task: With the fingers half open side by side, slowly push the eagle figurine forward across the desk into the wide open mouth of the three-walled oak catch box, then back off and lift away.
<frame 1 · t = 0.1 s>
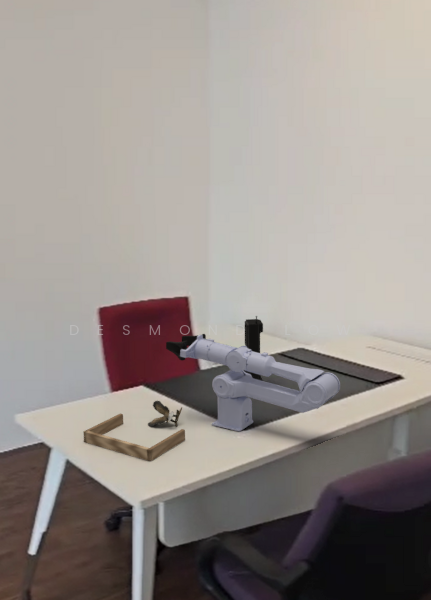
hand: (174, 342, 195), 22 cm above the table, tool horizontal, fingers open, 7 cm apart
catch box: (134, 441, 179), on the table
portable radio: (252, 387, 219), on the table
eagle figurine: (164, 425, 190), on the table
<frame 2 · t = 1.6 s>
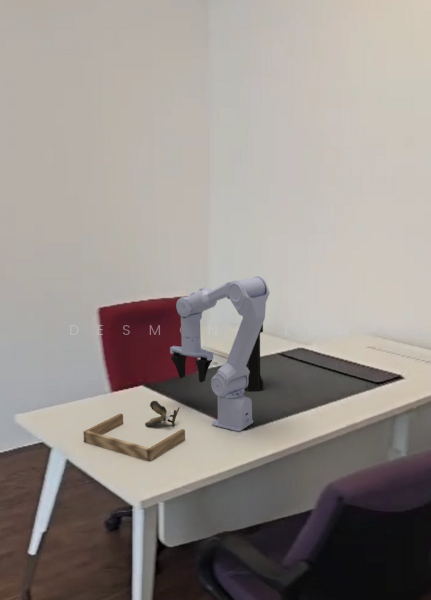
hand: (192, 379, 199), 9 cm above the table, tool pointing down, fingers open, 7 cm apart
nothing on the table moved.
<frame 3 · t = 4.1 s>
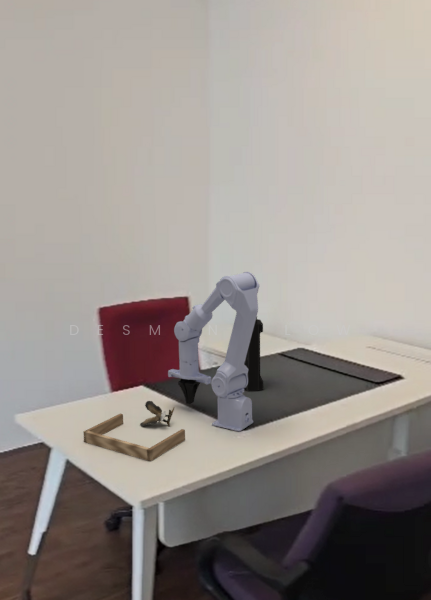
hand: (190, 402, 200), 2 cm above the table, tool pointing down, fingers closed
eagle figurine: (156, 425, 190), on the table
everything else where it was.
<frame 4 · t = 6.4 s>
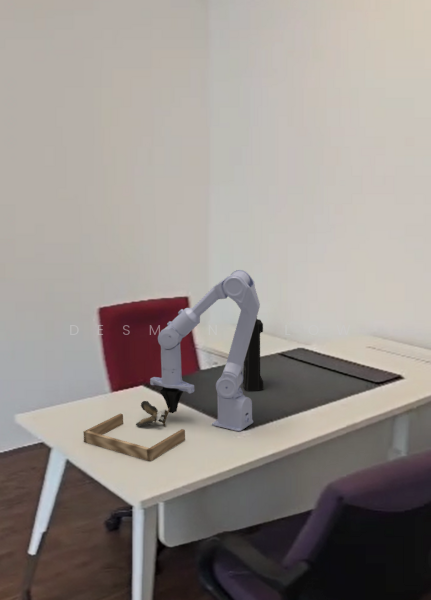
hand: (172, 411, 192), 2 cm above the table, tool pointing down, fingers closed
eagle figurine: (152, 425, 190), on the table, touching gripper
everything else where it was.
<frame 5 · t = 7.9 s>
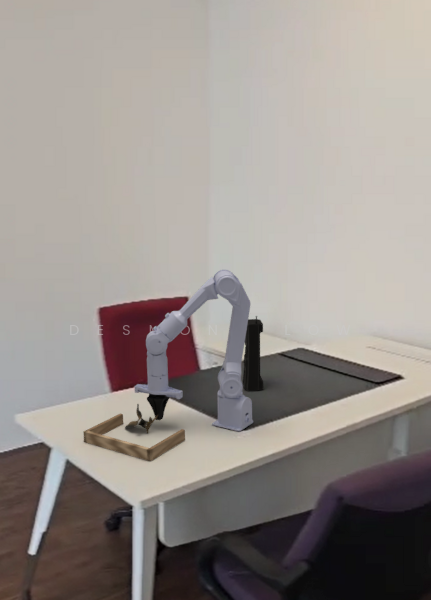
hand: (159, 419, 187), 2 cm above the table, tool pointing down, fingers closed
eagle figurine: (140, 429, 187), on the table, touching gripper
everything else where it was.
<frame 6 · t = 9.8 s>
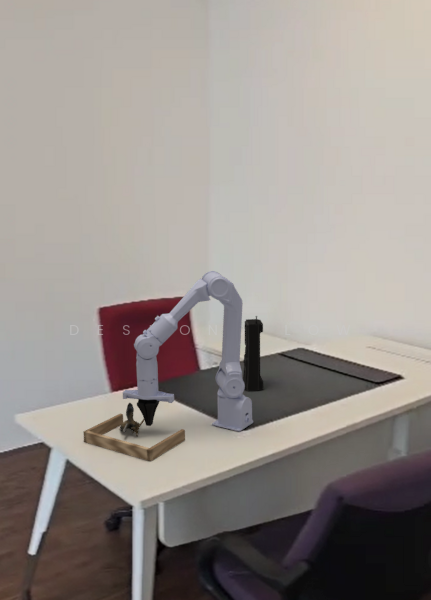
hand: (149, 424, 184), 2 cm above the table, tool pointing down, fingers closed
eagle figurine: (133, 429, 185), point 1 cm above the table
everything else where it was.
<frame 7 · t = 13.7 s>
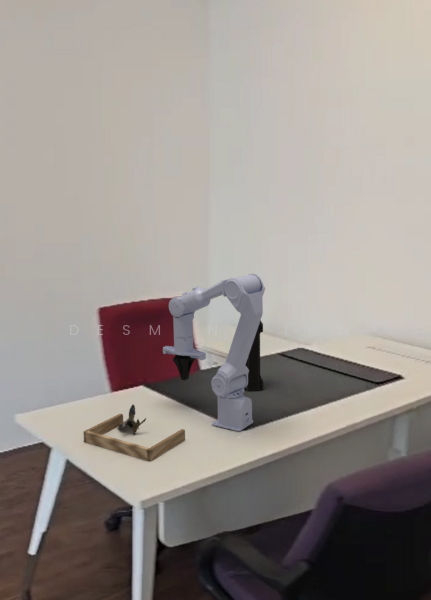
hand: (184, 379, 199), 9 cm above the table, tool pointing down, fingers closed
eagle figurine: (131, 430, 186), on the table
everything else where it was.
at the end: eagle figurine inside the target area on the catch box (8.1 cm from its centre), point 0.0 cm above the catch box's base; eagle figurine moved 10.0 cm from its start; eagle figurine tilted 0° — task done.
